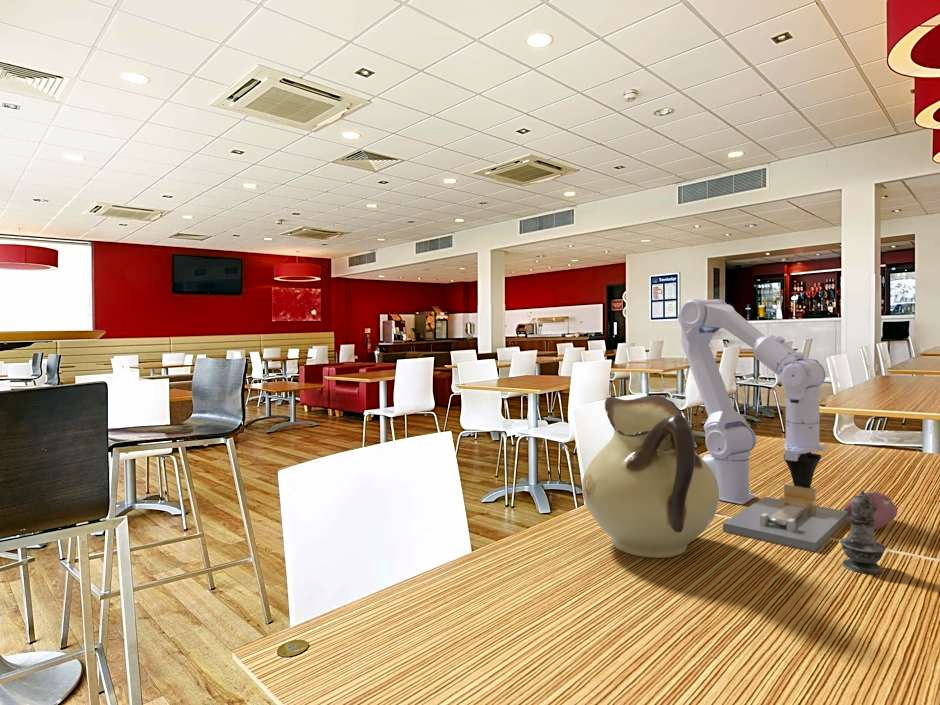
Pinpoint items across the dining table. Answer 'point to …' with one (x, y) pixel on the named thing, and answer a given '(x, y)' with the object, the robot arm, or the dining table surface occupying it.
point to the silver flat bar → (787, 514)
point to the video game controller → (878, 509)
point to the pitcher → (650, 480)
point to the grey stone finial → (862, 538)
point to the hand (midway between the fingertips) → (802, 491)
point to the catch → (799, 497)
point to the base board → (797, 532)
